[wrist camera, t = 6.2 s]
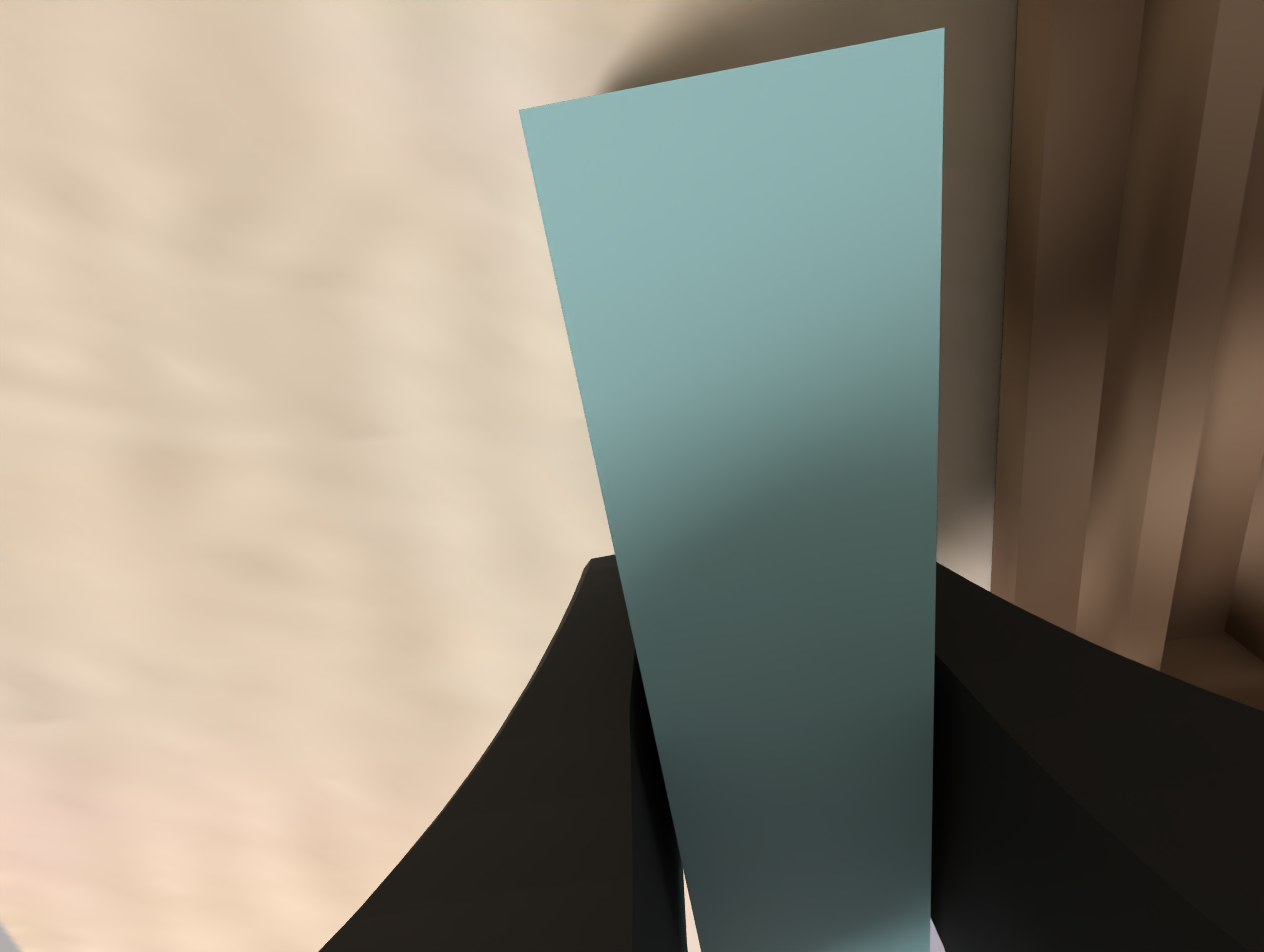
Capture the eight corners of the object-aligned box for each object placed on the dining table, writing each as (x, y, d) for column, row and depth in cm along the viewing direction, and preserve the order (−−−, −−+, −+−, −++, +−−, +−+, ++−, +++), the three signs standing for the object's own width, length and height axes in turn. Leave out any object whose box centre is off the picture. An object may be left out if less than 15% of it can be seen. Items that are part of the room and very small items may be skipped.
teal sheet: (761, 675, 17) (925, 1192, 9) (674, 689, 17) (759, 1218, 9) (690, 90, 11) (944, 26, 3) (564, 114, 11) (518, 109, 3)
